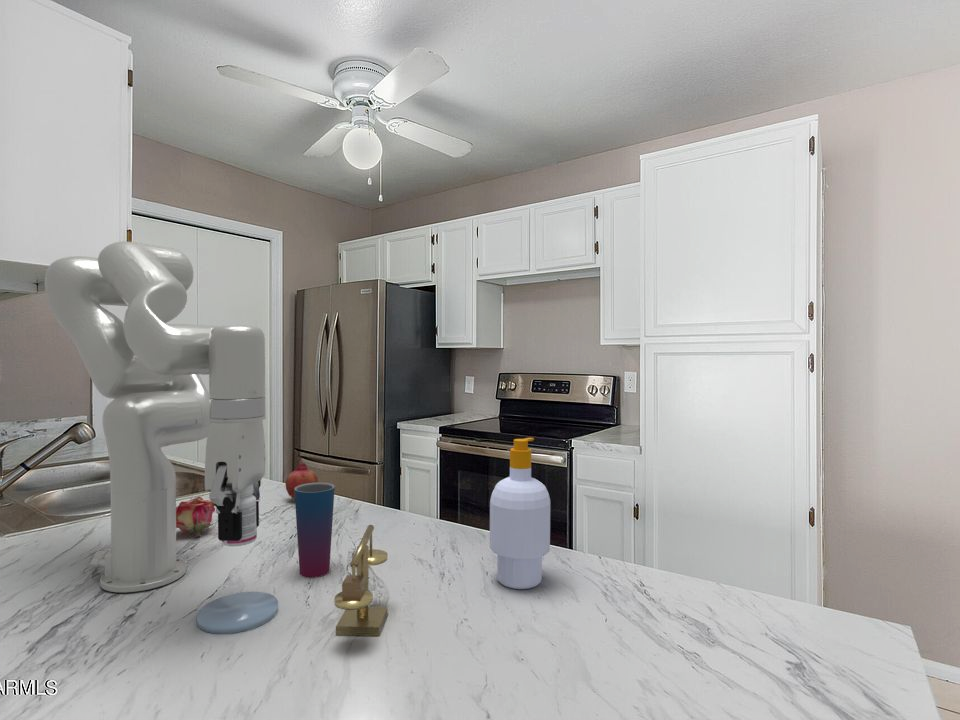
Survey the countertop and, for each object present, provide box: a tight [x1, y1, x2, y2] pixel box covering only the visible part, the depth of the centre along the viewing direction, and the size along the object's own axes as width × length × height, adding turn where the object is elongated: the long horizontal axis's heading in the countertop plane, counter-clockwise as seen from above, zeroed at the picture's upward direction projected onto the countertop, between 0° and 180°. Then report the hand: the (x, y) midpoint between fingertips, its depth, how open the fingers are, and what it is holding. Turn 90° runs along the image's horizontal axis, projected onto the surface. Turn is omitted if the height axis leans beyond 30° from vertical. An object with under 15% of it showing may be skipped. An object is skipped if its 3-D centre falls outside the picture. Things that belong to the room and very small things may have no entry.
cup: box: [294, 482, 336, 579], centre depth 98 cm, size 7×7×15 cm
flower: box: [176, 496, 218, 539], centre depth 117 cm, size 10×9×8 cm
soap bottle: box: [489, 437, 551, 590], centre depth 95 cm, size 10×10×24 cm
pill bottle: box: [221, 484, 258, 547], centre depth 82 cm, size 5×5×8 cm
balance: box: [333, 524, 389, 637], centre depth 80 cm, size 6×15×13 cm, turn 178°
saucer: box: [196, 591, 279, 635], centre depth 82 cm, size 11×11×1 cm
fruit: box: [285, 461, 319, 500], centre depth 143 cm, size 8×8×10 cm
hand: (239, 532), depth 82 cm, fingers closed on pill bottle, 4 cm apart
